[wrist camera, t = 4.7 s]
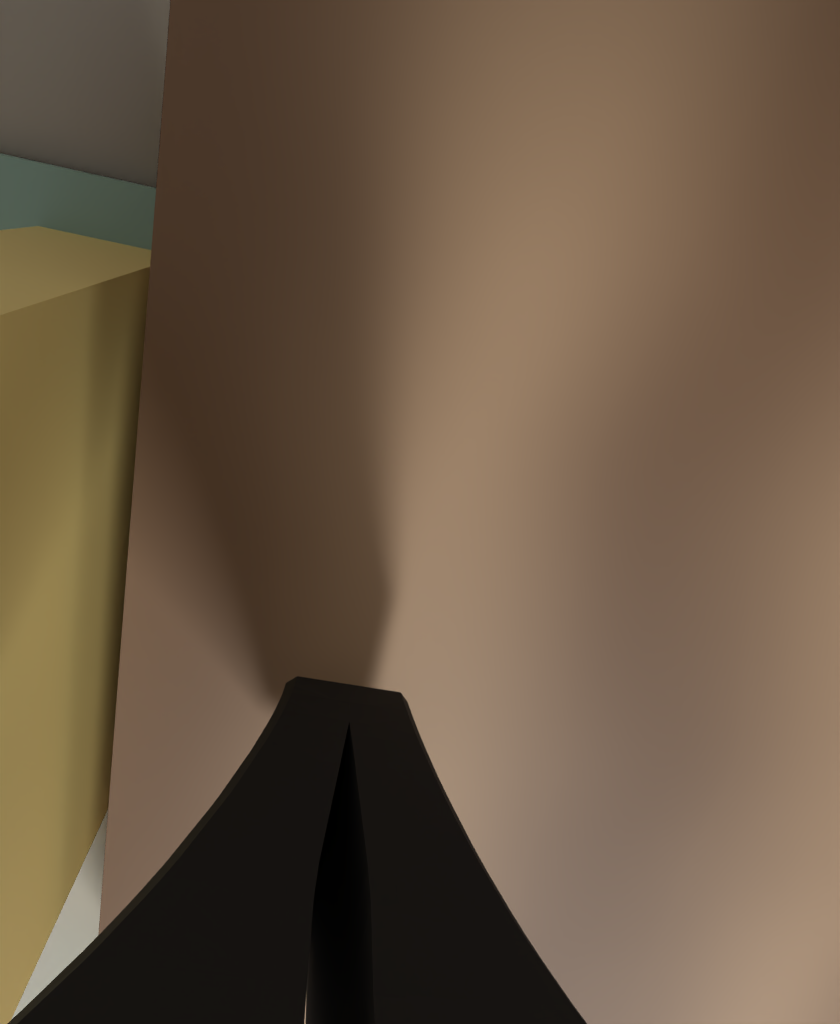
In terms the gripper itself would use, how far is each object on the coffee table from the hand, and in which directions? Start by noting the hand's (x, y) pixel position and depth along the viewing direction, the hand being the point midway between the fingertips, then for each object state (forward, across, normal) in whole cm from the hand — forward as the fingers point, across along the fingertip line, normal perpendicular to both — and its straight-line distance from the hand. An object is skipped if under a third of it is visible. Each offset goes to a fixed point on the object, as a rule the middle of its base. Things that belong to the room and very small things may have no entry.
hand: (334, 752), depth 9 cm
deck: (+5, -4, +1) cm, 7 cm away
